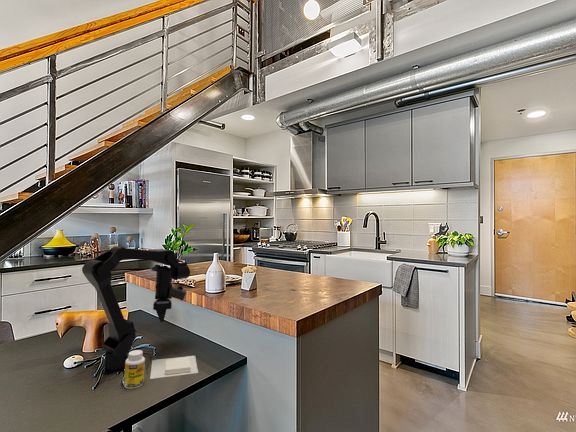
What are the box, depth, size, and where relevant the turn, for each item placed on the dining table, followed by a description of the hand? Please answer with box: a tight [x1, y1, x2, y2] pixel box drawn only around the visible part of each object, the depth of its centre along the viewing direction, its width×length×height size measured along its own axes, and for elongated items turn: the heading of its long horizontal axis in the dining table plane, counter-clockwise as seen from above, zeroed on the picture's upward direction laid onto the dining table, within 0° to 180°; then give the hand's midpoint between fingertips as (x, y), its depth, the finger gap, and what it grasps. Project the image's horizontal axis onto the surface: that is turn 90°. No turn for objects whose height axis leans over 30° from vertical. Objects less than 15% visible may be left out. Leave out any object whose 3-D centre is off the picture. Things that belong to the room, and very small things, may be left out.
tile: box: [165, 357, 190, 375], centre depth 109 cm, size 8×2×8 cm
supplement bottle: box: [123, 349, 146, 390], centre depth 98 cm, size 6×6×10 cm
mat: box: [149, 355, 199, 380], centre depth 110 cm, size 15×14×1 cm
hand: (161, 321), depth 122 cm, fingers closed
